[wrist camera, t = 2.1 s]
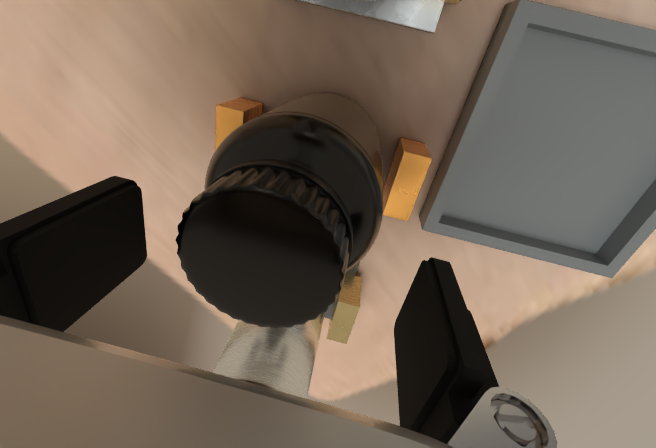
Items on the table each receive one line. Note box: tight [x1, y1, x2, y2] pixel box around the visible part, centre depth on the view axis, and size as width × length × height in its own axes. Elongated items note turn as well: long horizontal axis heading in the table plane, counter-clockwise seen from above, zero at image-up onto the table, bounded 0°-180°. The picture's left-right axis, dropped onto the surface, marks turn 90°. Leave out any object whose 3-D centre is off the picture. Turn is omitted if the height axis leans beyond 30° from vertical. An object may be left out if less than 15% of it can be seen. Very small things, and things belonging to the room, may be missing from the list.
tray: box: [419, 0, 656, 278], centre depth 16 cm, size 11×11×2 cm
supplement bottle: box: [176, 93, 383, 328], centre depth 14 cm, size 7×7×12 cm
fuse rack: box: [212, 0, 461, 399], centre depth 14 cm, size 26×11×12 cm, turn 168°
